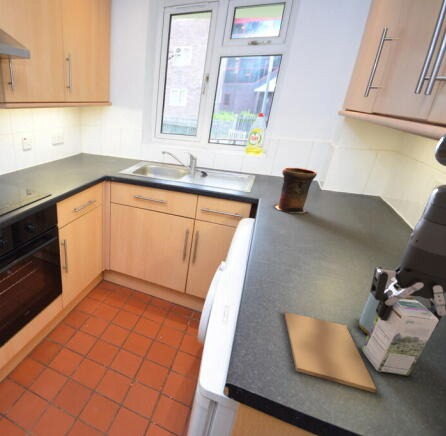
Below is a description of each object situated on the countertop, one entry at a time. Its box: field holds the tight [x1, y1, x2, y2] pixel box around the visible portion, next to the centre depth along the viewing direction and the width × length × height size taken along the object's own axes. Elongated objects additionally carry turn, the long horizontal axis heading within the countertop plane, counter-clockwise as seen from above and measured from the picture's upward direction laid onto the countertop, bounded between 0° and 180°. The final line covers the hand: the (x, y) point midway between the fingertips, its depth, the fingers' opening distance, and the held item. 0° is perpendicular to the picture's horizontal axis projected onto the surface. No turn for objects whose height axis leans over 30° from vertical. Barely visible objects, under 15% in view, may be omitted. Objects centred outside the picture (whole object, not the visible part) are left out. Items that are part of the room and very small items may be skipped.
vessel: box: [275, 167, 318, 214], centre depth 147 cm, size 14×14×20 cm
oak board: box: [284, 311, 377, 394], centre depth 65 cm, size 13×18×1 cm
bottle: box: [358, 277, 414, 335], centre depth 67 cm, size 7×7×15 cm
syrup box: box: [361, 299, 440, 376], centre depth 59 cm, size 6×6×14 cm
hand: (403, 322), depth 57 cm, fingers closed on syrup box, 6 cm apart
